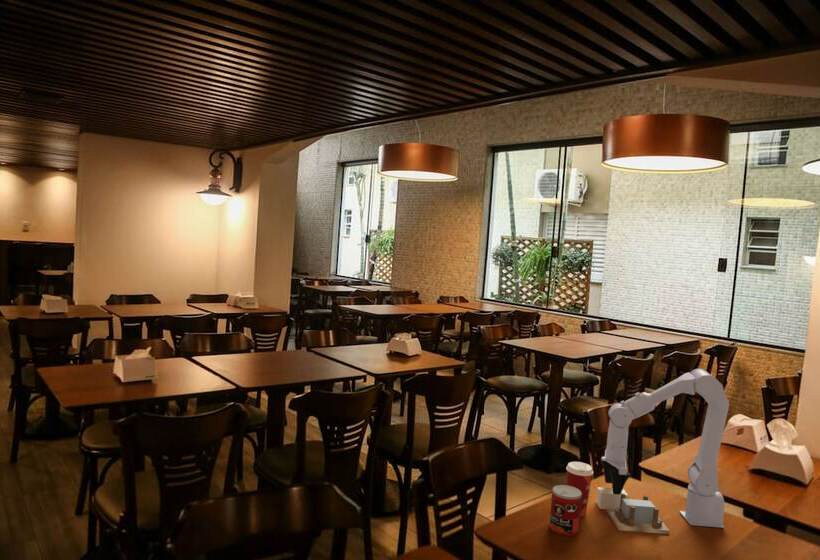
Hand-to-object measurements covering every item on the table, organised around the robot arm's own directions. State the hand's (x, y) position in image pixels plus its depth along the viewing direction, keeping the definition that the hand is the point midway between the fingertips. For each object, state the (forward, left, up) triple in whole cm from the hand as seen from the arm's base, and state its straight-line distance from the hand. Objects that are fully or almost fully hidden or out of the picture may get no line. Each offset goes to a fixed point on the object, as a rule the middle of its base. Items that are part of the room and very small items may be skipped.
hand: (612, 488), depth 174 cm
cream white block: (0, 0, -6) cm, 6 cm away
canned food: (+18, +17, -6) cm, 25 cm away
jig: (-5, +10, -6) cm, 12 cm away
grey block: (-4, +10, -5) cm, 11 cm away
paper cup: (+12, +6, -6) cm, 14 cm away
